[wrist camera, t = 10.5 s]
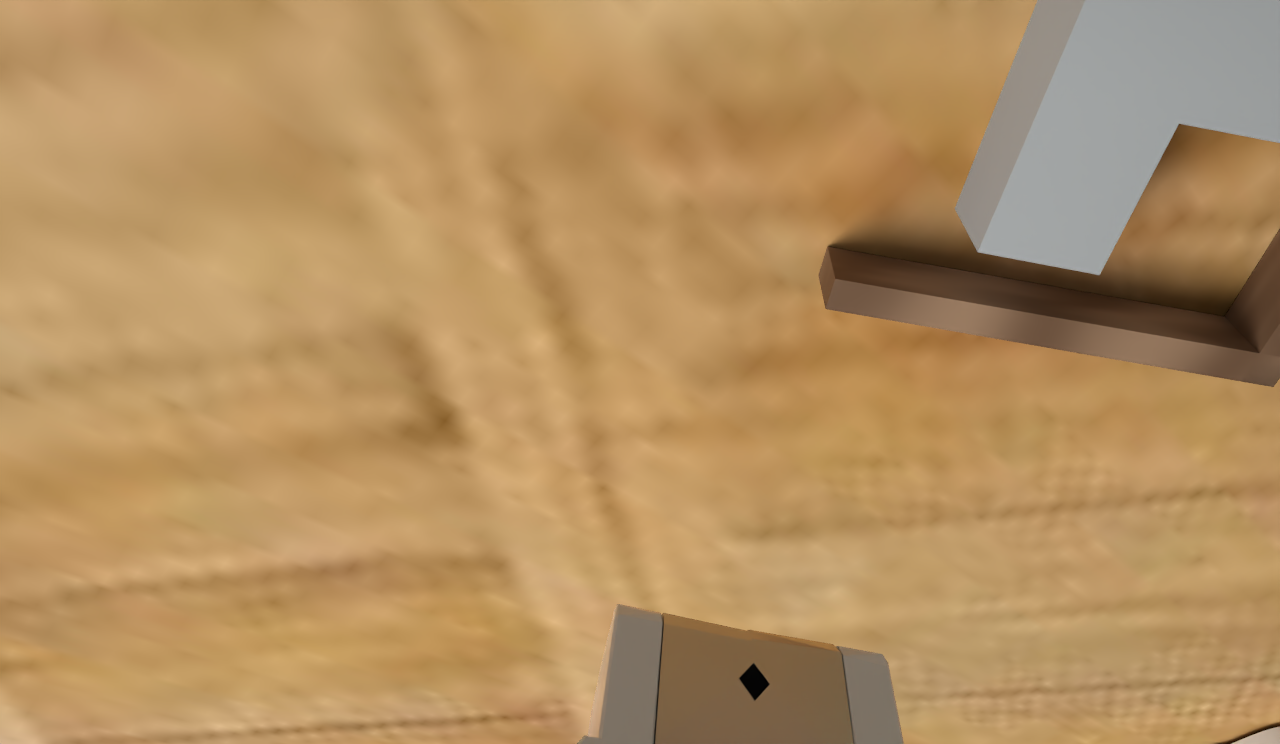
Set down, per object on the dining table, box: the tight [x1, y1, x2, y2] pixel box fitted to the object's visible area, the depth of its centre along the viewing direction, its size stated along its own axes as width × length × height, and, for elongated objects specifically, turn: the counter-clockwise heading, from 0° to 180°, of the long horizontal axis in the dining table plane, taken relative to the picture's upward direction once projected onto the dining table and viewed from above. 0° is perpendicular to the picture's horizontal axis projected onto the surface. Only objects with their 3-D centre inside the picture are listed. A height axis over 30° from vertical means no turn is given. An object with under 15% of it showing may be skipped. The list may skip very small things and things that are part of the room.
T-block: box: [955, 0, 1280, 275], centre depth 25 cm, size 11×14×4 cm
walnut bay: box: [819, 230, 1280, 387], centre depth 26 cm, size 16×20×2 cm
